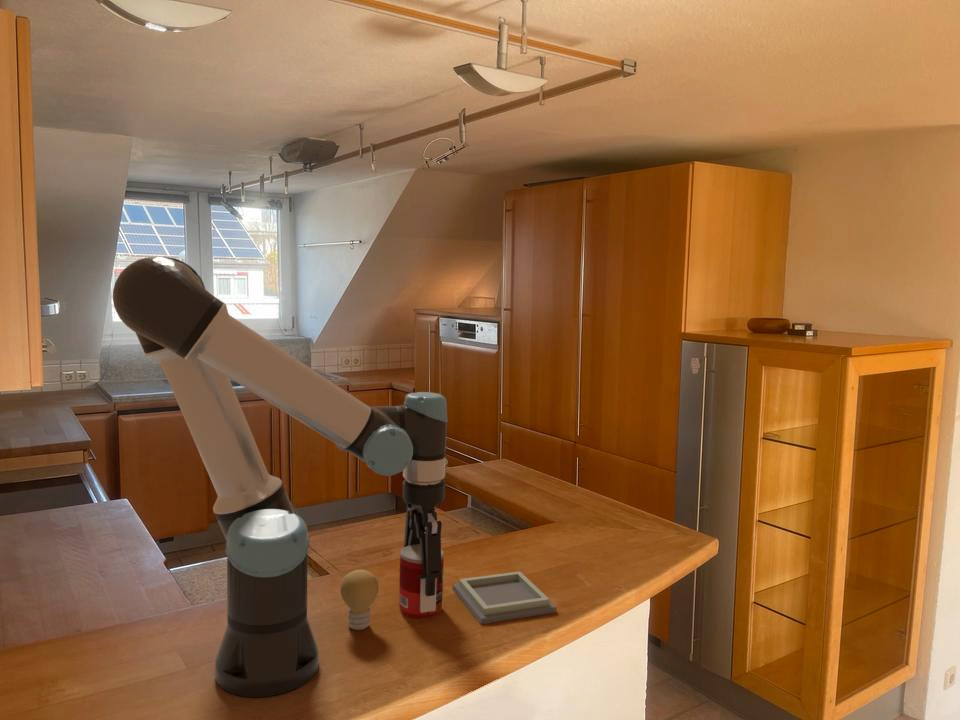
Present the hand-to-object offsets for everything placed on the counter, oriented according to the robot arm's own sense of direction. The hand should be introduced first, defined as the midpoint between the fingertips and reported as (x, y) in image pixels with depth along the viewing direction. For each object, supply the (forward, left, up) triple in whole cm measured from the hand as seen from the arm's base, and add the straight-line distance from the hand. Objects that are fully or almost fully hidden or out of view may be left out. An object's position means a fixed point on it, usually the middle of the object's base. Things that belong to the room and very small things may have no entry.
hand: (420, 600), depth 131 cm
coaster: (+16, -1, -2) cm, 16 cm away
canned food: (0, 0, -2) cm, 2 cm away
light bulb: (-12, -3, -2) cm, 13 cm away
